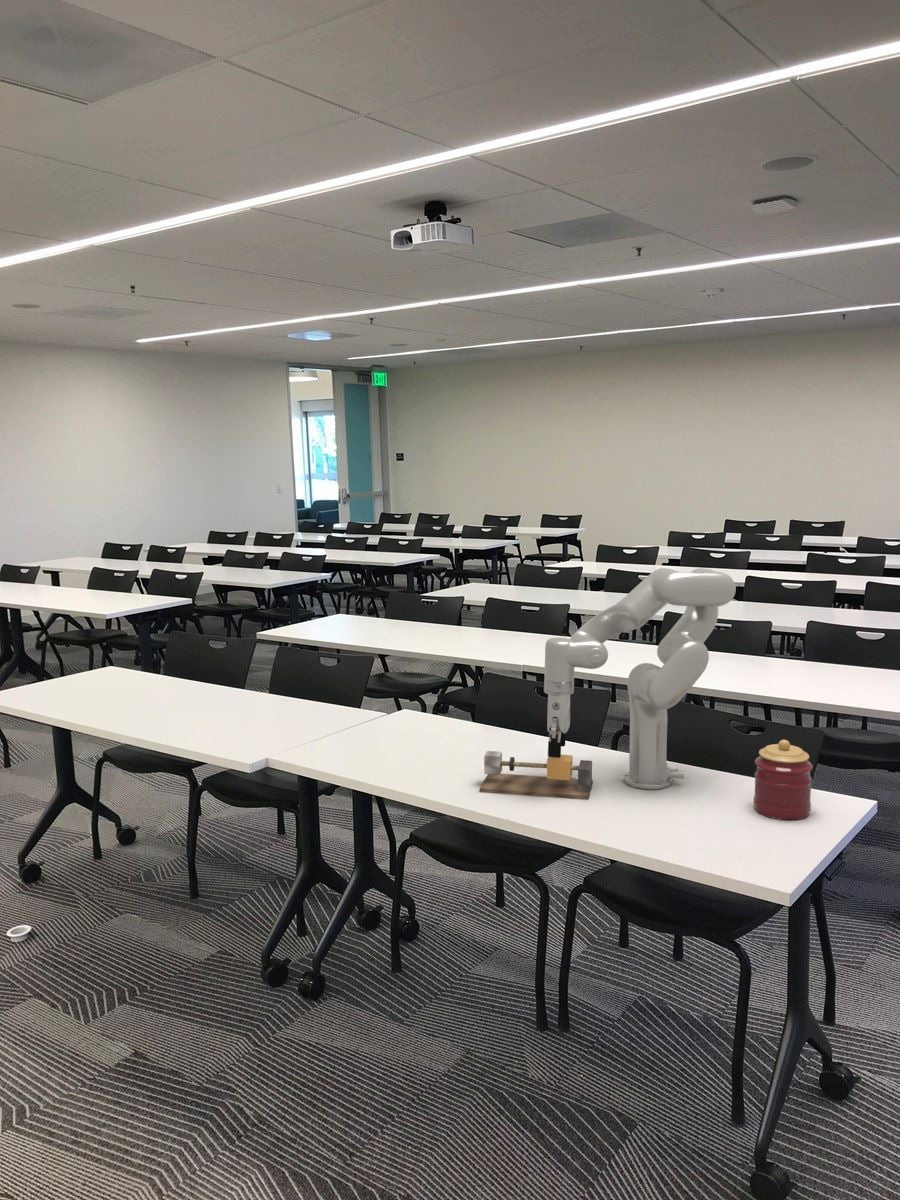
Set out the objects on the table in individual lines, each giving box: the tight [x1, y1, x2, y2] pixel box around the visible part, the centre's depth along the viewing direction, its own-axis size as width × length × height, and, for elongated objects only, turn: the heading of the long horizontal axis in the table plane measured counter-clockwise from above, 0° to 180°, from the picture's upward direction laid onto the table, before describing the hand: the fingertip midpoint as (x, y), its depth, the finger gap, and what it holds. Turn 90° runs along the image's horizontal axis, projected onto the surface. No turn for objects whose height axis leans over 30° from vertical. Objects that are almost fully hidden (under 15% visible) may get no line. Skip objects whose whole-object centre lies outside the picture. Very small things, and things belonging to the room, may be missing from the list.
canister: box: [753, 739, 813, 820], centre depth 216 cm, size 13×13×18 cm
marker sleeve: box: [546, 754, 573, 780], centre depth 233 cm, size 6×5×5 cm
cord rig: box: [479, 750, 594, 801], centre depth 235 cm, size 28×12×8 cm, turn 76°
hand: (556, 751), depth 232 cm, fingers open, 9 cm apart
